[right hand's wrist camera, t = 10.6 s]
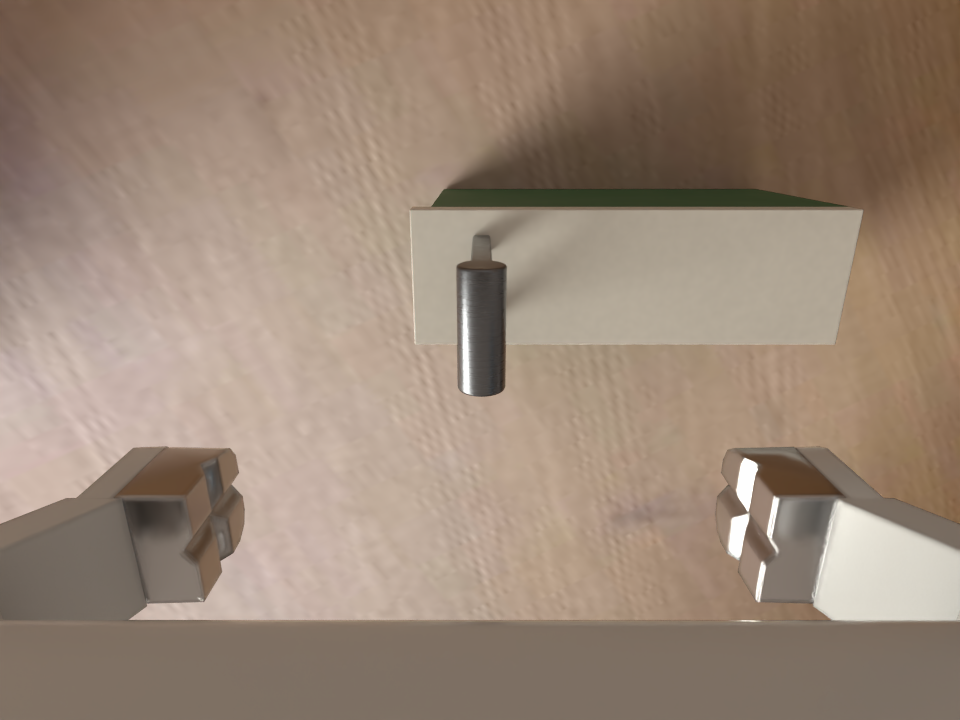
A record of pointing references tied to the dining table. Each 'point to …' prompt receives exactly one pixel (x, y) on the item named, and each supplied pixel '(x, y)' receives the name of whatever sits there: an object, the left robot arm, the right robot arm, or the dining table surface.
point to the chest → (621, 198)
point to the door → (625, 278)
